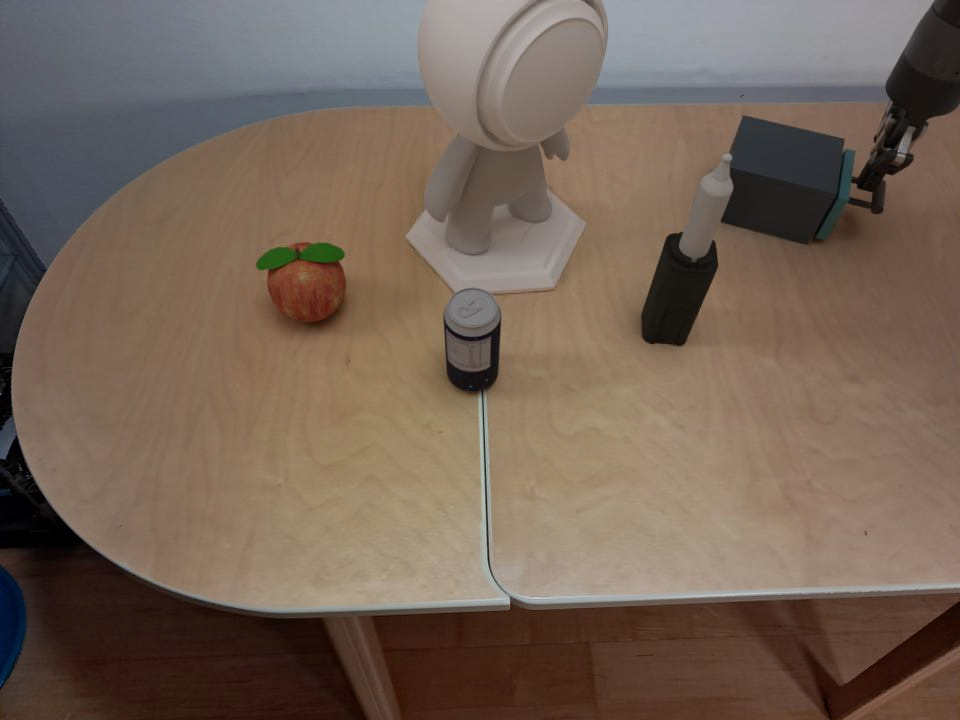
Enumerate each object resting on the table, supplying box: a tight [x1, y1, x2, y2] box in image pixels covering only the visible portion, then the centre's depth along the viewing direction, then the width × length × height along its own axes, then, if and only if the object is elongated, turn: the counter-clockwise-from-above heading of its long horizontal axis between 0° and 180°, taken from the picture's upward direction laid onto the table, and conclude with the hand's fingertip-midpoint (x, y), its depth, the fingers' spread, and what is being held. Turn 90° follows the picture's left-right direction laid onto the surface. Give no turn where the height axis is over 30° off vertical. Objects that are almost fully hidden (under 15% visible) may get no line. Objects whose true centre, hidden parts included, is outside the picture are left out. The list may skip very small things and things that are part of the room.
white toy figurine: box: [405, 0, 609, 296], centre depth 75 cm, size 20×23×35 cm
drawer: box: [815, 148, 887, 241], centre depth 88 cm, size 16×9×7 cm, turn 69°
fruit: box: [255, 241, 347, 323], centre depth 78 cm, size 9×10×10 cm
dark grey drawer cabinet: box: [720, 114, 846, 246], centre depth 89 cm, size 13×11×9 cm
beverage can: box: [442, 288, 502, 393], centre depth 72 cm, size 6×6×12 cm
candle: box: [640, 152, 733, 347], centre depth 71 cm, size 5×5×25 cm
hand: (865, 186), depth 85 cm, fingers closed
